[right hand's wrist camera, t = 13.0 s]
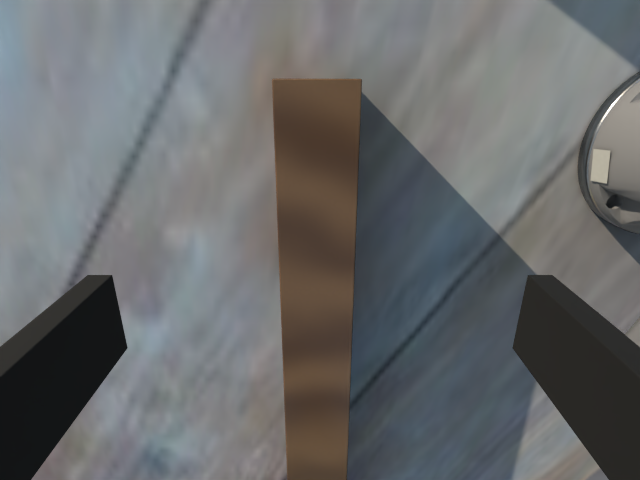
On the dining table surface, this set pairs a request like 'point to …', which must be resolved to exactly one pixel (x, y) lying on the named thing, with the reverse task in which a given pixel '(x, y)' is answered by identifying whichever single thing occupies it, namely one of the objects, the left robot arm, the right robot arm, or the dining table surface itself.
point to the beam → (317, 265)
